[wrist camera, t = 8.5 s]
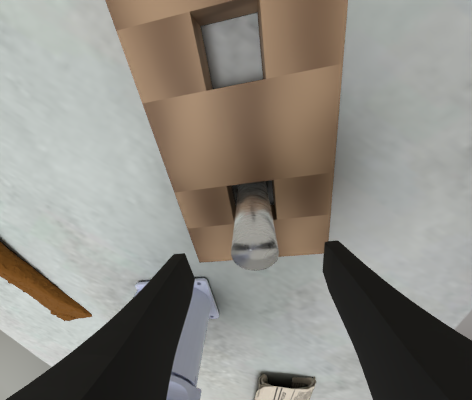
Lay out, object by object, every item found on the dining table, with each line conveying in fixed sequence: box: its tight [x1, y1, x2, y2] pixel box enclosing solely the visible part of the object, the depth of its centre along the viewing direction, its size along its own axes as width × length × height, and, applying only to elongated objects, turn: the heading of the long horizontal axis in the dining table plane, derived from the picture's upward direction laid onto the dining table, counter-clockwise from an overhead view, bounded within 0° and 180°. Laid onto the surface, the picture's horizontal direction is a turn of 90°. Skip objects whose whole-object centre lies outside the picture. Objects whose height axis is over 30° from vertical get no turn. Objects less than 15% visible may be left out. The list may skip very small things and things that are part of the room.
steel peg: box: [231, 181, 279, 270], centre depth 14 cm, size 3×3×8 cm
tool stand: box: [106, 0, 348, 262], centre depth 14 cm, size 12×22×2 cm, turn 10°
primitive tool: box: [0, 242, 92, 321], centre depth 25 cm, size 19×6×4 cm, turn 17°
